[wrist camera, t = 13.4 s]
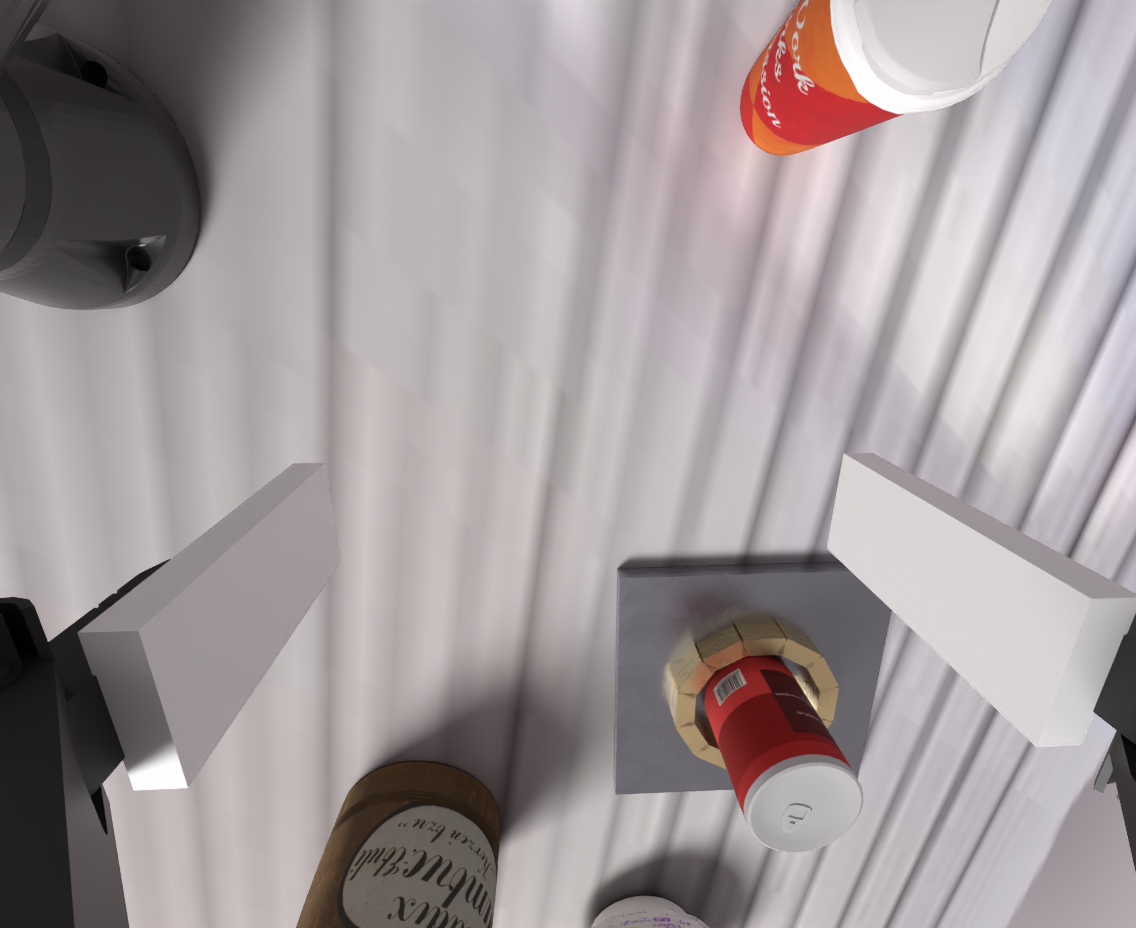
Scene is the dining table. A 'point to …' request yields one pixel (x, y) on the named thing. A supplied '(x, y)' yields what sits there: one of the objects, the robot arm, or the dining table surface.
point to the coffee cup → (876, 64)
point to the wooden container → (409, 853)
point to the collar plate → (709, 609)
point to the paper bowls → (646, 914)
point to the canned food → (780, 757)
